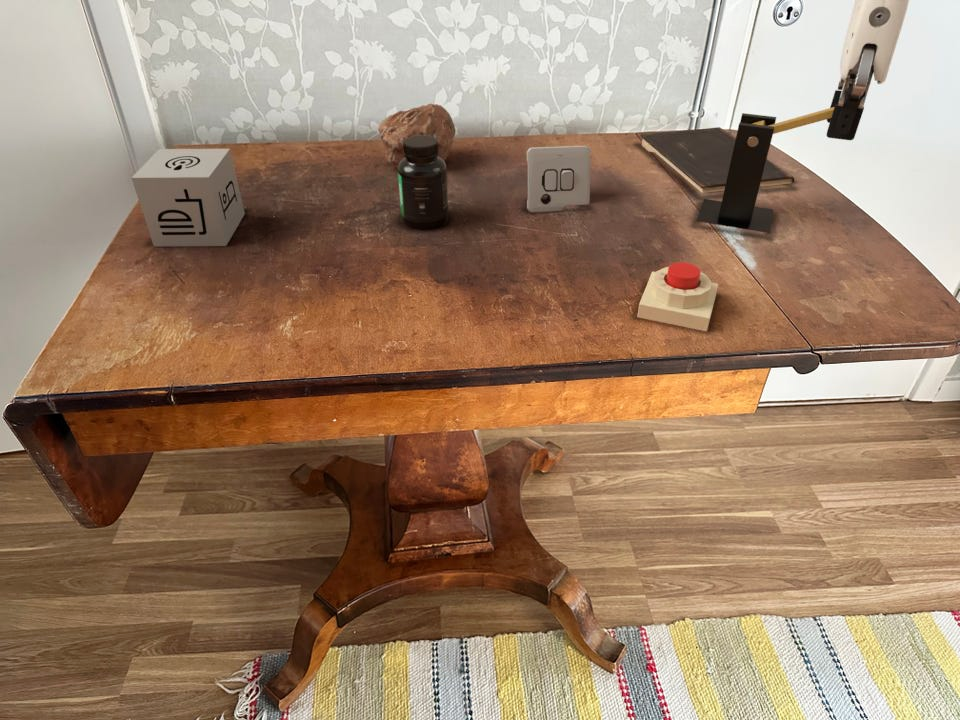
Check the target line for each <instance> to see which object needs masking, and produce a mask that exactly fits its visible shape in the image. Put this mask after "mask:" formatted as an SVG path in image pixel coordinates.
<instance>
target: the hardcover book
mask: <svg viewBox="0 0 960 720" xmlns="http://www.w3.org/2000/svg"><path fill="white" fill-rule="evenodd" d="M639 137H640V138H641V139H642V140H641V145H640V146H641V148H643V149H644V150H645V151H646V152H649V153H655V154H656V155H657V156H658V157H660V158H661V159H662V160H663V161H664V162H666V163H667V164H668V165H669V166H670V167H671V168H672V169H674V170H675V171H676V172H677V173H678V174H679V175H681V176H682V177H683V178H684V180H686V181H687V182H689V183H690V184H691V185H692V186H694V188H696V189H697V190H698V191H699V192H700V193H702V194H707V193H715V192H716V193H717V192H724V189H725V185H726V180H727V176H728V171H729V167H730V162H731V158H732V153H733V149H734V144H735V140H736V136H733V134H731V133H729V132H728V131H726V130H724V128H722V127H720V126H718V127H706V128H697V129H686V130H685V129H684V130H675V131H664V132H663V131H662V132H653V133H642V134H640V135H639ZM794 183H795V177H794V176H792V175H791V174H790V173H788V172H787V171H785V170H784V169H782V168H781V167H779V166H778V165H777V164H775V163H774V162H772V161H771V160H770V159H768V158H767V159H766V163H765V167H764V171H763V175H762V179H761V183H760V187H759V188H761V187H769V186H778V185H788V184H789V185H790V184H794Z"/></svg>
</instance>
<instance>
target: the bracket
mask: <svg viewBox="0 0 960 720" xmlns="http://www.w3.org/2000/svg"><path fill="white" fill-rule="evenodd" d="M763 120H764V121H765V125H766V126H764V125H756V124H753V123H756V122H759V121H763ZM776 121H777V116H771V115H762V114H753V113H745V112H743V113H741V117H740V122H739V123H738V126H737V132H736V136H735V138H736V140H735V144H734V149H733V153H732V158H731V162H730V167H729V171H728V176H727V180H726V185H725V189H724V191H723V195H722V199H721V201H720V200H715V199H707V198H703V200H702V203H701V205H700V210H699V211H698V215H697V218H696V222H699V223H706V224H710V225H718V226H723V227H730V228H736V229H741V230H749V231H753V232H754V231H755V232H761V233H766V234H770V233H771V230H772V221H773V217H774V209H773V208H768V207H761V206H756V203H757V199H758V195H759V190H760V188H761V187H760V183H761V179H762V175H763V171H764V167H765V163H766V159H767V160H768V155H769V151H770V148H771V144H772V140H773V136H774V134H773V132H774V127H772V126H769V125H772V124H776Z"/></svg>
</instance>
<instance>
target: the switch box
mask: <svg viewBox="0 0 960 720" xmlns="http://www.w3.org/2000/svg"><path fill="white" fill-rule="evenodd" d="M668 268H669V266H665V267H663V268H660V269H659V270H657V271H651V274H650V275H649V279H648V281H647V283H646V286H645V288H644V290H643V293H642V296H641V299H640V301H639V303H638V310H637V316H636V317H637V318H639V319H644V320H649V321H654V322H659V323H664V324H668V325H673V326H678V327H682V328H683V327H684V328H688V329H693V330H698V331H701V332H708V329H709V324H710V321H711V316H712V313H713V309H714V304H715V301H716V297H717V292H718V288H719V283H717V282H712V281H711V279H710V278H709V277H708V275H707V274H706V273H703V272H702V271H700V277H699V282H698V286H697V287H696V288H695V289H692V290H681V289H676V288H673V287H671V286H669V285H667V283H666V279H667V273H668Z"/></svg>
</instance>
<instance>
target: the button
mask: <svg viewBox="0 0 960 720" xmlns="http://www.w3.org/2000/svg"><path fill="white" fill-rule="evenodd" d="M668 267H669V268H668V273H667V279H666V283H667V285H669V286H671V287H673V288H676V289H681V290H692V289H695V288H696V287H697V286H698V282H699V277H700V272H701V270H700V268H698V267H697V266H696V265H694V264H692V263H688V262H675V263H672V264H670V265H669V266H668Z"/></svg>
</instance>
